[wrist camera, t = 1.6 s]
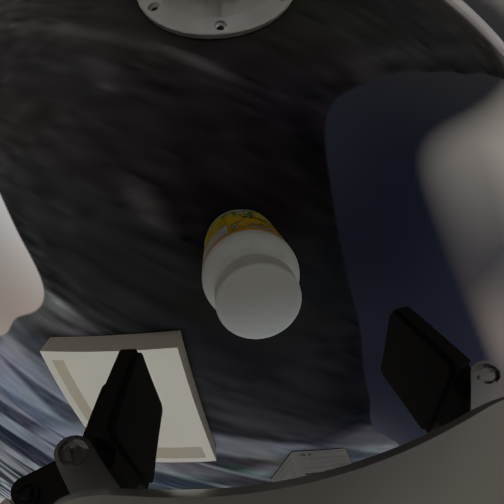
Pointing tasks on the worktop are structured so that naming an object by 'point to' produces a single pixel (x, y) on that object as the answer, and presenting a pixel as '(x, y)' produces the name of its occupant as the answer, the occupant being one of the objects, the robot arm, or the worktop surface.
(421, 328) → the robot arm
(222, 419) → the worktop surface
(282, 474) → the supplement box
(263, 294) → the supplement bottle
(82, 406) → the tray
